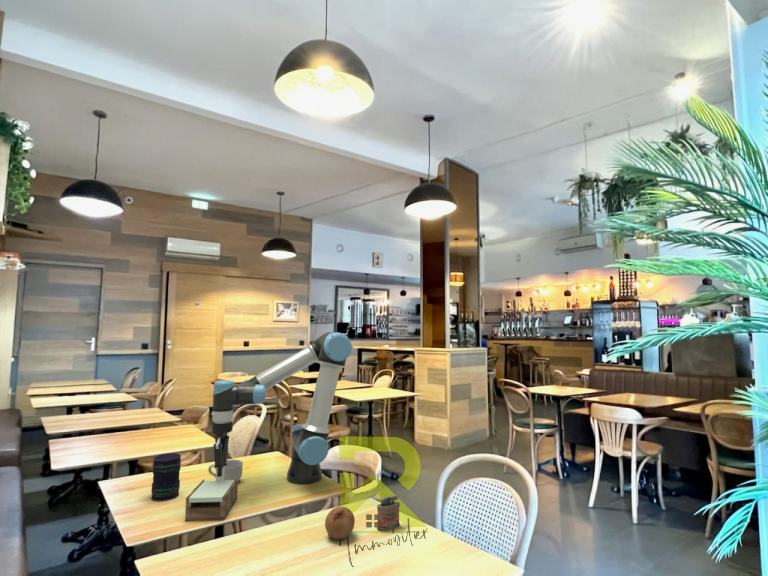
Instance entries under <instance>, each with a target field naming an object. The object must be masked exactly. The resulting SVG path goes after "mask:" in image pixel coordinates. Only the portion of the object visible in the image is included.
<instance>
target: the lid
mask: <svg viewBox="0 0 768 576" xmlns="http://www.w3.org/2000/svg"><path fill="white" fill-rule="evenodd" d="M234 482H235V480H216V479H215V480H213V479H212V480H204V482H203V483H202V484H201V485H200V486H199V487H198V489H197V490H196V491H195V492H194V493H193V494H192V495H191V496H190V497H189V503H192V502H222V501H223V500H224V496H225V494H226V493H227V492H228V490H229V489H230V487H231V486H232V485H233V483H234Z"/></svg>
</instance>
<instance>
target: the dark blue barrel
mask: <svg viewBox="0 0 768 576" xmlns="http://www.w3.org/2000/svg"><path fill="white" fill-rule="evenodd" d="M181 456H182V455H181V454H179V453H172V452H171V453H163V454H159V455H156V456H154V457H153V462H152V471H151V472H152V474H153V476H152V483H151V500H152V501H154V502H167V501H171V500H174V499H176V498H178V497H179V495H180V492H179V491H180V488H181V485H180V483H181V480H180V471H181V466H182V465H181V464H182V461H181Z"/></svg>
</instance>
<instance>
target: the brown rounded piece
mask: <svg viewBox="0 0 768 576" xmlns="http://www.w3.org/2000/svg"><path fill="white" fill-rule="evenodd" d="M355 522H356V519H355V514H354V513H353V512H352V511H351V509H350V508H348V507H346V506H336V507H334V508H332V509H331V510H330V511H329V512H328V513H327V515H326V517H325V521H324V526H325V530H326V532H327V534H328V535H327V536H328V537H330V538H333V539H335V540H337V541H338V540H344V539H345V540H346V538H347V537H349V536H350V535H351V534H352V532H353V530H354V528H355Z"/></svg>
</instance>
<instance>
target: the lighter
mask: <svg viewBox="0 0 768 576" xmlns="http://www.w3.org/2000/svg"><path fill="white" fill-rule="evenodd" d="M398 497H399V496H398V494H397V495H396V494H394V495H390V496H388V495H385V496H384V497H381V498H380V503H379V504H376V506H377V507H376V509H377V526H376V530H377V531H378V532H386V531H387V532H388V531H391V530H392V531H393V530H395V529H398V528H400V527H401V525H400V524H401V523H400V506H401V502H400V501H398V500H399V499H398Z"/></svg>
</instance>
